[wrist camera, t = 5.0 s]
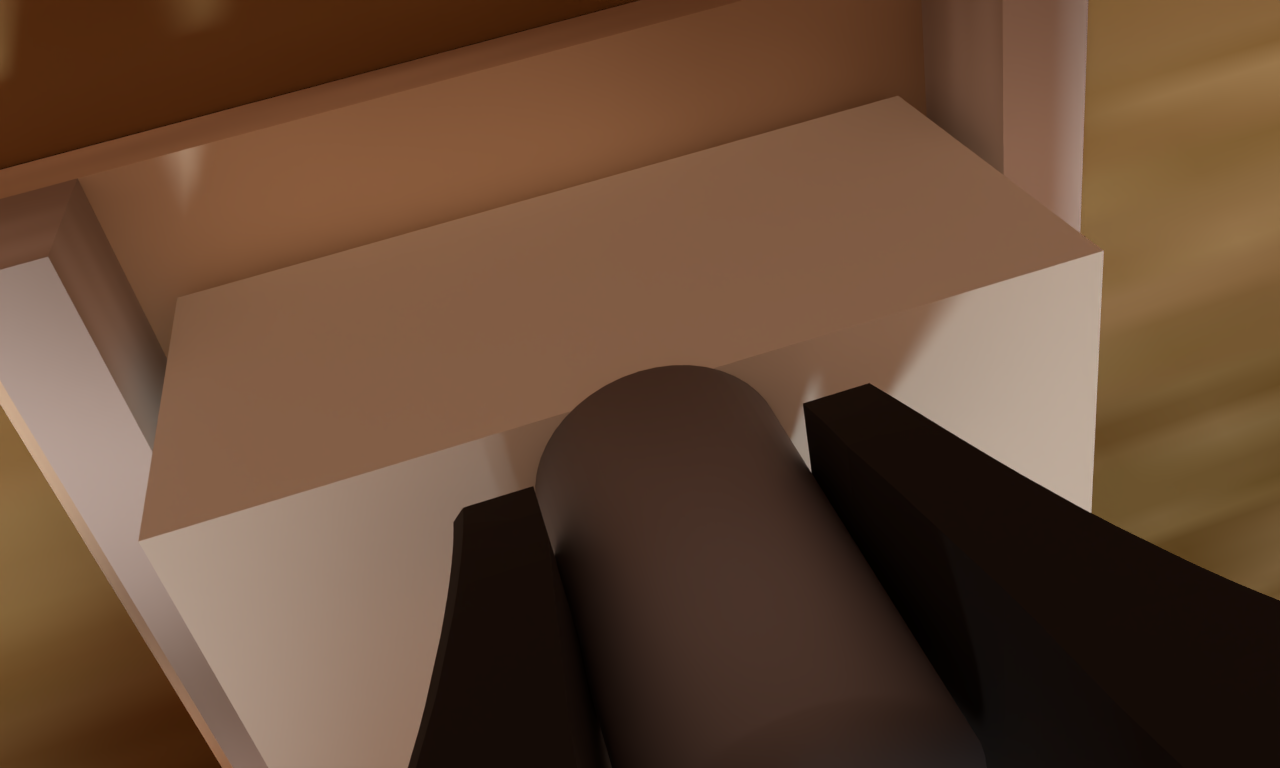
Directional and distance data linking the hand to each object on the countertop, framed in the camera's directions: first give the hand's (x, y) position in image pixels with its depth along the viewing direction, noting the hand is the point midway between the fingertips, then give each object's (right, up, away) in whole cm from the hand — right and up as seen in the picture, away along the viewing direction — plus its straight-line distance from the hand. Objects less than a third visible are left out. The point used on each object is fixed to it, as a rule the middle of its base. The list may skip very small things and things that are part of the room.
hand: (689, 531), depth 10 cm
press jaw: (-1, +1, +6) cm, 6 cm away
